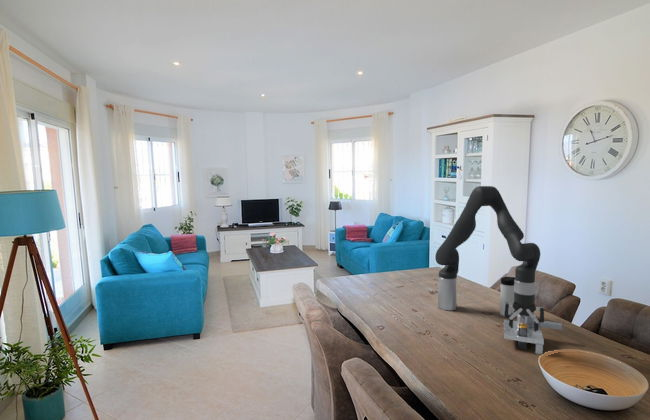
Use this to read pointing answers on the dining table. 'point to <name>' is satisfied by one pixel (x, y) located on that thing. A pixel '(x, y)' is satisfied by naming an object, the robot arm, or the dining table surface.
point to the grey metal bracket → (529, 331)
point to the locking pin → (522, 332)
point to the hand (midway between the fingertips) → (523, 329)
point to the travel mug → (507, 294)
